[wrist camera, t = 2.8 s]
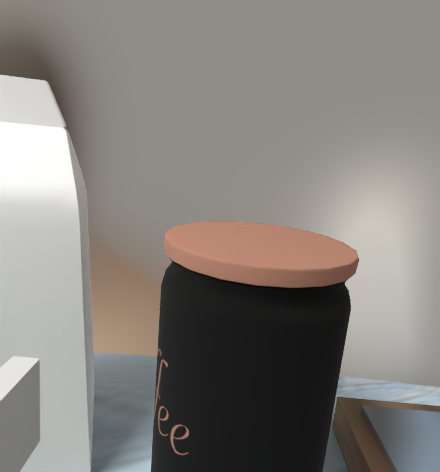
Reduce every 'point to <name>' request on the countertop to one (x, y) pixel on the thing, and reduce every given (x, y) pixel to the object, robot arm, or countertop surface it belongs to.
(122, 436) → the countertop surface
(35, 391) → the robot arm
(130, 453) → the countertop surface
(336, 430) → the plinth
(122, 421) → the countertop surface
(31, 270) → the milk
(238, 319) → the coffee jar
